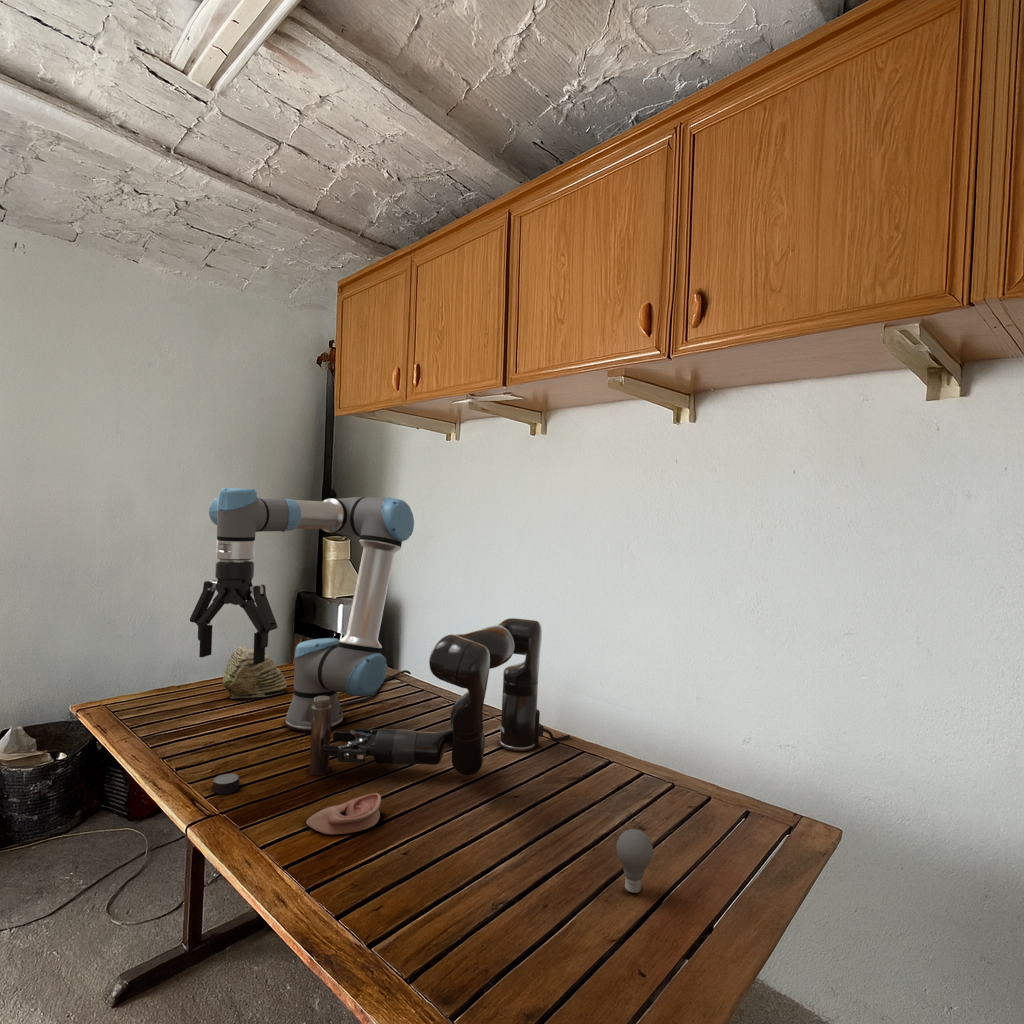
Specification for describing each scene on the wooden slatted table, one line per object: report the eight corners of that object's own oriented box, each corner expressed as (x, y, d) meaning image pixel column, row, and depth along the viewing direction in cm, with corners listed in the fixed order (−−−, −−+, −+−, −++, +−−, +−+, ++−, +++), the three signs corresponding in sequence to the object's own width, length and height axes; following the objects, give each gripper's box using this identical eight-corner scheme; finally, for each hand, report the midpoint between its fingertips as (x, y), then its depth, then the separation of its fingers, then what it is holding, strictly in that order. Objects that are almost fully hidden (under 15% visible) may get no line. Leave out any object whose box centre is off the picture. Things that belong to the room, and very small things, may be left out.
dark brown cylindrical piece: (321, 776, 143) (324, 701, 143) (305, 773, 145) (308, 699, 144) (332, 769, 147) (335, 696, 147) (316, 766, 149) (319, 694, 148)
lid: (235, 781, 139) (236, 771, 139) (241, 790, 135) (241, 780, 135) (210, 786, 136) (211, 776, 136) (215, 796, 132) (215, 785, 132)
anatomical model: (298, 809, 120) (327, 783, 131) (297, 830, 120) (327, 802, 131) (363, 819, 117) (388, 791, 128) (362, 840, 117) (387, 811, 128)
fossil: (218, 695, 195) (220, 647, 195) (278, 685, 208) (279, 640, 207) (228, 703, 189) (230, 653, 188) (289, 692, 201) (290, 645, 201)
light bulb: (610, 879, 108) (613, 822, 108) (644, 879, 109) (647, 822, 109) (619, 902, 102) (622, 840, 102) (655, 901, 103) (658, 840, 103)
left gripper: (173, 557, 135) (170, 656, 135) (274, 565, 128) (270, 670, 128) (200, 555, 142) (196, 649, 142) (296, 562, 135) (293, 661, 135)
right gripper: (404, 719, 153) (337, 716, 153) (391, 742, 139) (318, 738, 139) (402, 750, 153) (336, 747, 153) (390, 776, 139) (316, 772, 139)
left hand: (231, 659), depth 135 cm, fingers open, 13 cm apart
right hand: (327, 743), depth 146 cm, fingers open, 8 cm apart
